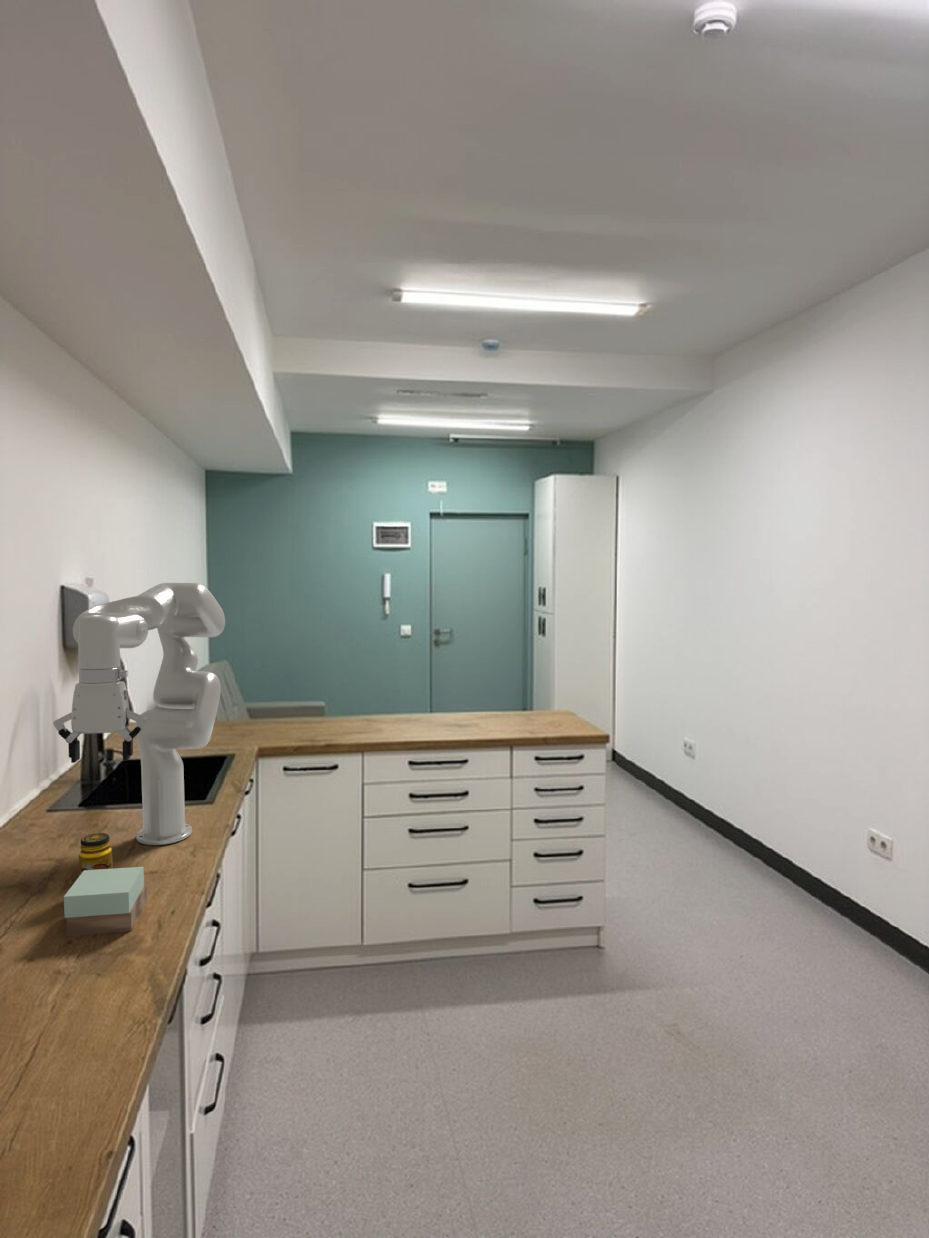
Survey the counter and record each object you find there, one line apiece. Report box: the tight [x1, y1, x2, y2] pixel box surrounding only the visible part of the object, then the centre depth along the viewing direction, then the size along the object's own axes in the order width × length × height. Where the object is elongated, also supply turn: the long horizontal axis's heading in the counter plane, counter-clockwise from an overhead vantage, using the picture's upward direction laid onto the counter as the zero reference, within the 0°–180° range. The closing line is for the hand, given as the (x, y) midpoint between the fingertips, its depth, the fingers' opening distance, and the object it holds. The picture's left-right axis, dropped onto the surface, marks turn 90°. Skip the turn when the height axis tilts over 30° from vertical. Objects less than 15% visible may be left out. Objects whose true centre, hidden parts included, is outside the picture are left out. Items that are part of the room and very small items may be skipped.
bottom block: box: [66, 885, 148, 937], centre depth 139 cm, size 11×11×4 cm
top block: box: [63, 866, 145, 919], centre depth 138 cm, size 11×11×4 cm
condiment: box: [78, 832, 114, 876], centre depth 149 cm, size 7×8×12 cm
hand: (101, 760), depth 148 cm, fingers open, 9 cm apart
